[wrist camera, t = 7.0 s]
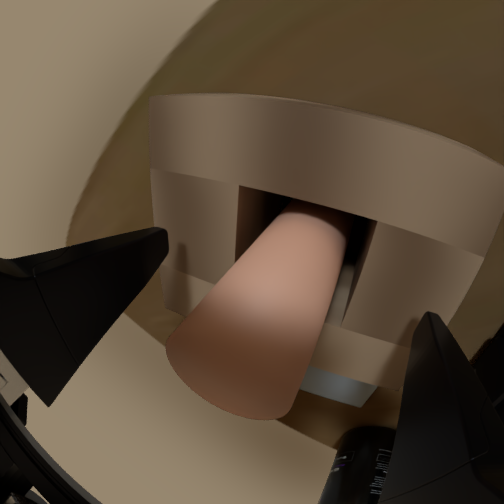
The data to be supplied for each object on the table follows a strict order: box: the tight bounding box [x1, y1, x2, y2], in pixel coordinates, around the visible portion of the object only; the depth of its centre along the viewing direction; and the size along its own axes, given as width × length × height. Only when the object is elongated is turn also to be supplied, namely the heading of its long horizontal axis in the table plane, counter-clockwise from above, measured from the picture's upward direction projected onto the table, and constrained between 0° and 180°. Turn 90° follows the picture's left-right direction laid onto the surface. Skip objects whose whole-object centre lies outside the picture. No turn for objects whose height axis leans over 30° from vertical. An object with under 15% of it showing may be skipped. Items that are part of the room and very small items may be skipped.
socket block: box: [149, 93, 504, 391], centre depth 11 cm, size 12×10×5 cm
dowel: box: [166, 198, 355, 420], centre depth 9 cm, size 3×3×10 cm
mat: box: [299, 365, 378, 408], centre depth 18 cm, size 12×9×1 cm
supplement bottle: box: [318, 427, 396, 504], centre depth 16 cm, size 7×7×12 cm
